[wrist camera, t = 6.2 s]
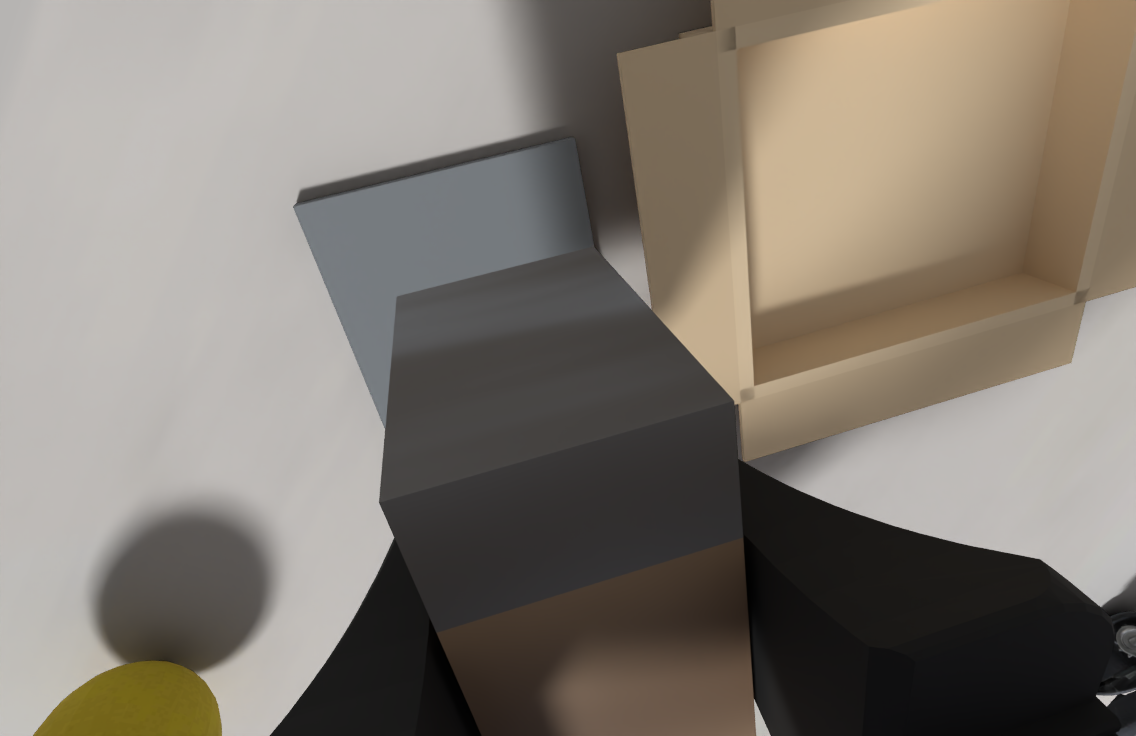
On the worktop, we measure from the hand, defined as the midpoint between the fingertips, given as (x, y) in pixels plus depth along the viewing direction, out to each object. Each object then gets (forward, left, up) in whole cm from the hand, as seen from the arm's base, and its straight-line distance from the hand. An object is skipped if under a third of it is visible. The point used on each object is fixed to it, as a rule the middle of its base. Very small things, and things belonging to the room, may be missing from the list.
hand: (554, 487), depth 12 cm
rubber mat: (0, +1, -9) cm, 9 cm away
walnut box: (0, 0, -2) cm, 2 cm away
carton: (+1, -13, -9) cm, 16 cm away
